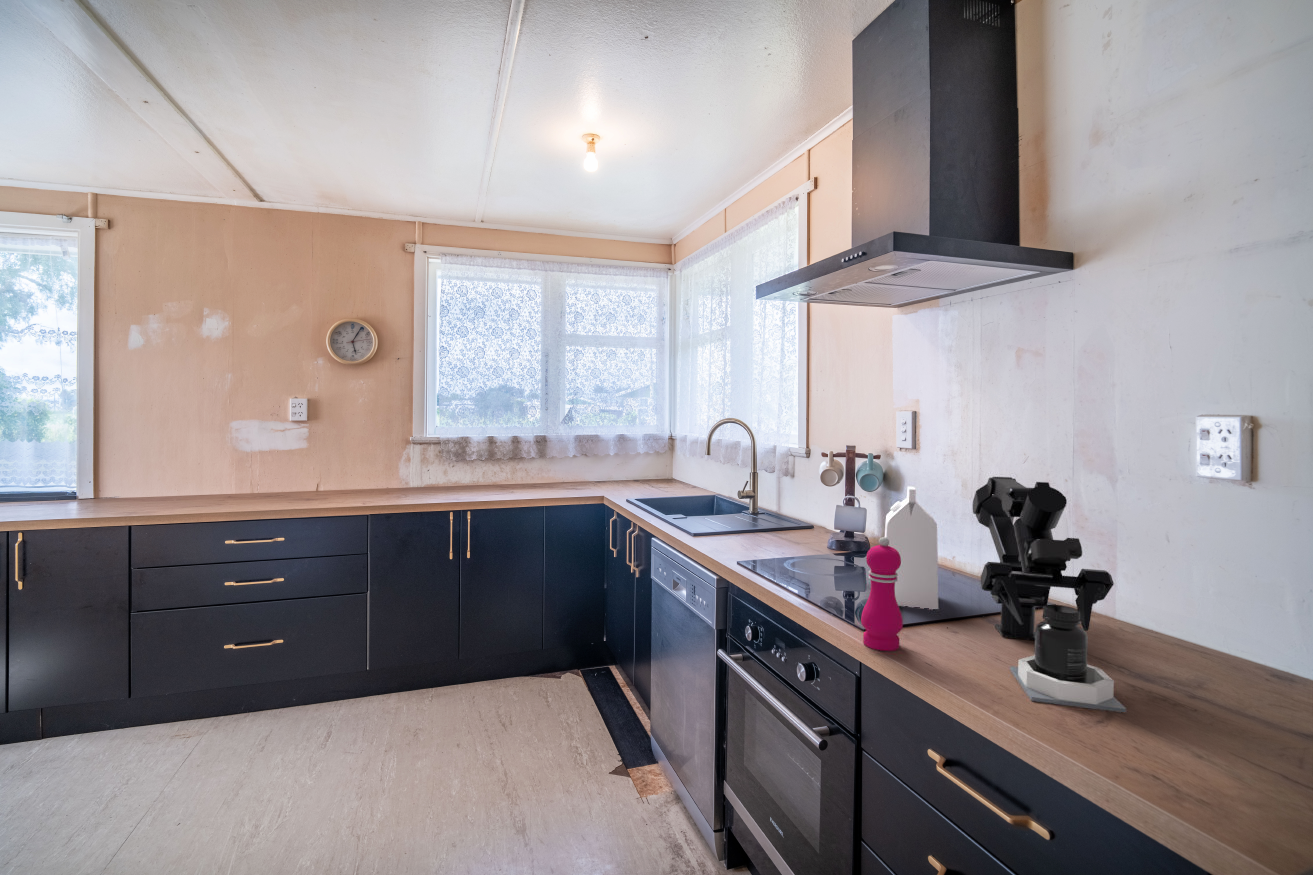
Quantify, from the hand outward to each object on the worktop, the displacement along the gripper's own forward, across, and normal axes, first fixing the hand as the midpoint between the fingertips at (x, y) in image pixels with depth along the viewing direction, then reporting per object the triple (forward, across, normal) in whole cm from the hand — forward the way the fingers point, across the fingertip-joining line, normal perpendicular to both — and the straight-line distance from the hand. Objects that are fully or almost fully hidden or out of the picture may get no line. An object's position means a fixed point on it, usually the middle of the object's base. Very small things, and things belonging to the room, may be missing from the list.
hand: (1053, 626), depth 100 cm
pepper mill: (+2, -26, +10) cm, 28 cm away
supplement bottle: (+9, 0, +2) cm, 9 cm away
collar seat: (+10, 0, +2) cm, 10 cm away
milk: (-21, -18, +34) cm, 44 cm away
